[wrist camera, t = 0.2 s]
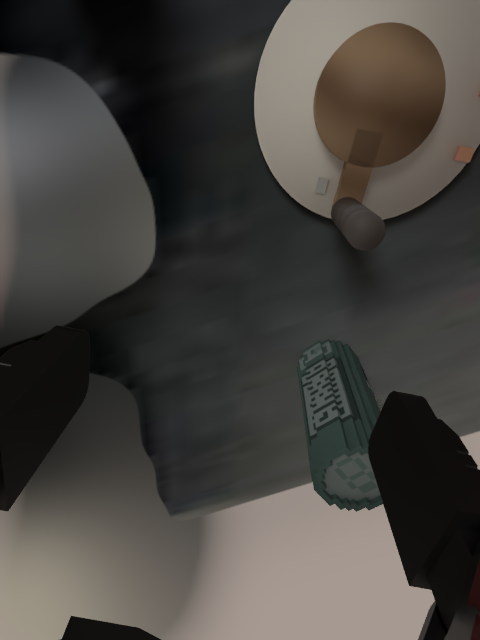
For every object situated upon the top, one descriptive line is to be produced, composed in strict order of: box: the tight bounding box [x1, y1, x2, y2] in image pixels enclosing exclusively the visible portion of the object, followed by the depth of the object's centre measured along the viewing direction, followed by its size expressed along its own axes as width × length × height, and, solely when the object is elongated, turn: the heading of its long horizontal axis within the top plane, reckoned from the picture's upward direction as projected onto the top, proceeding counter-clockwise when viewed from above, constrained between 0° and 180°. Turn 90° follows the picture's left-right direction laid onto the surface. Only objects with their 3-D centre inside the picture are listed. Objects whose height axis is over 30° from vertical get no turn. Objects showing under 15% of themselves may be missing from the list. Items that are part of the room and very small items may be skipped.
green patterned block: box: [297, 340, 383, 511], centre depth 34 cm, size 6×6×15 cm
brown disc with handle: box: [313, 22, 446, 250], centre depth 26 cm, size 14×9×8 cm, turn 170°
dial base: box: [254, 0, 480, 220], centre depth 30 cm, size 18×18×2 cm
